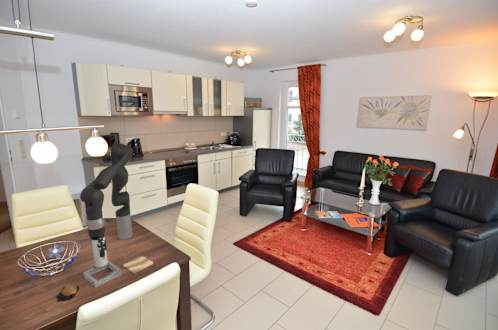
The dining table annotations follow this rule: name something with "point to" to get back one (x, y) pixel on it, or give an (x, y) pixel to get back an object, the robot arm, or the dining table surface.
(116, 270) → the square frame
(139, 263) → the square tan coaster
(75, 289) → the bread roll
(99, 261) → the travel mug
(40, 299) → the dining table surface
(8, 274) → the dining table surface
